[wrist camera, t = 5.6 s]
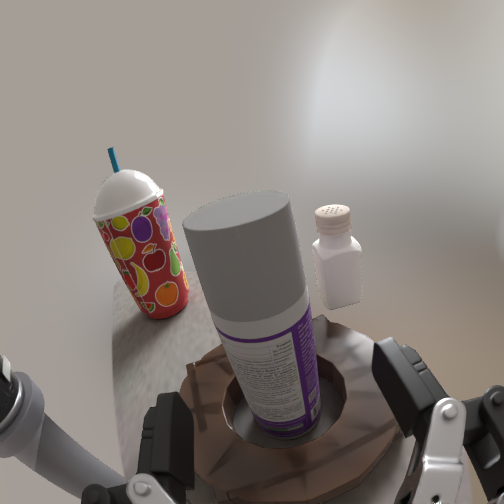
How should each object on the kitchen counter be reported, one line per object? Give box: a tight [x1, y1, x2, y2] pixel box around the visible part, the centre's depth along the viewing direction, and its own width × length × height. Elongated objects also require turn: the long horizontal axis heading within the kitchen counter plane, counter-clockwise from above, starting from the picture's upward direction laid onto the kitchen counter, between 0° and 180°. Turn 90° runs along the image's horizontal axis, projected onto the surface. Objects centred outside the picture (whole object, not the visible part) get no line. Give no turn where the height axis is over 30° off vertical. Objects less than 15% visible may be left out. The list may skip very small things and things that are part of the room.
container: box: [182, 191, 321, 440], centre depth 14 cm, size 5×5×15 cm
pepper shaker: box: [312, 205, 362, 310], centre depth 26 cm, size 4×4×10 cm
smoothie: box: [93, 147, 189, 319], centre depth 30 cm, size 8×8×20 cm
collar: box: [179, 315, 403, 504], centre depth 17 cm, size 15×15×2 cm
